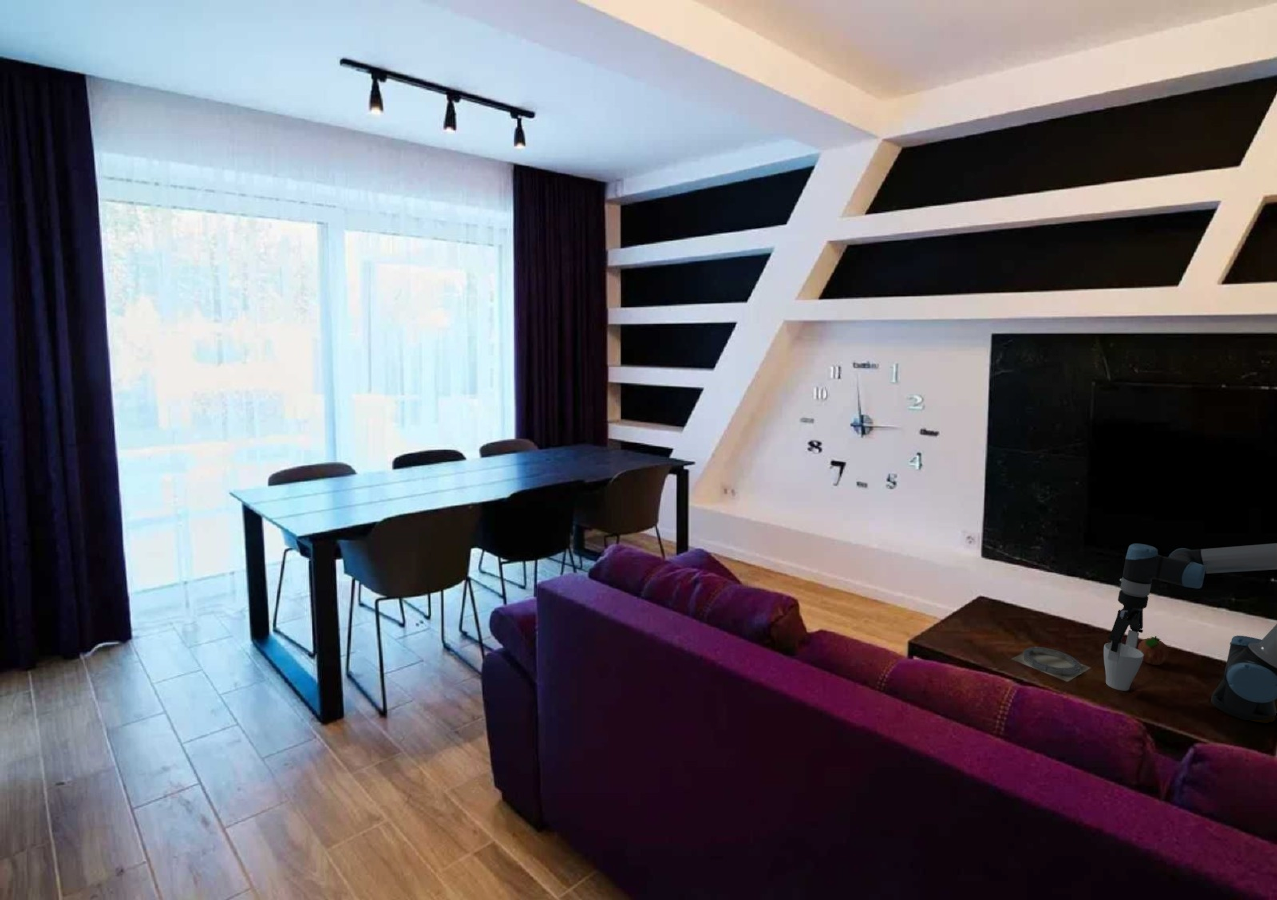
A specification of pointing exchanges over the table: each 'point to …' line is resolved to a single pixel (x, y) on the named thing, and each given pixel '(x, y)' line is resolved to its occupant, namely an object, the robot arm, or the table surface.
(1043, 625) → the table surface
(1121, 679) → the cup
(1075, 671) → the ring collar
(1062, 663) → the board
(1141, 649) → the fruit
